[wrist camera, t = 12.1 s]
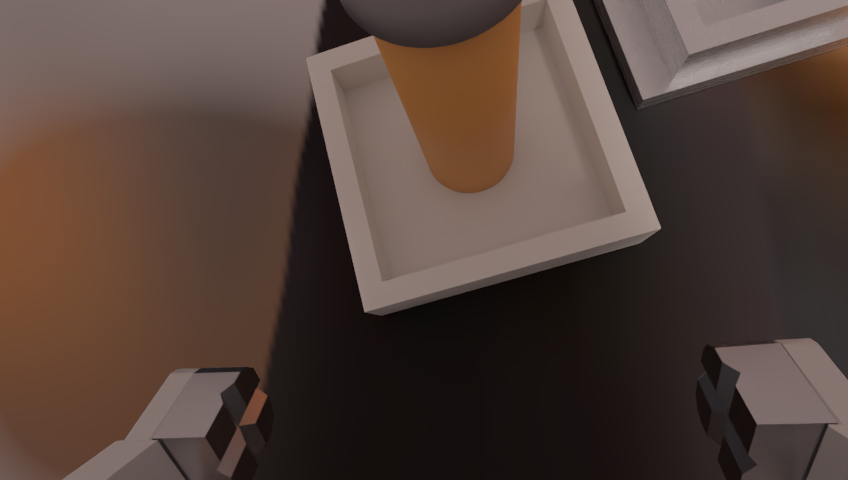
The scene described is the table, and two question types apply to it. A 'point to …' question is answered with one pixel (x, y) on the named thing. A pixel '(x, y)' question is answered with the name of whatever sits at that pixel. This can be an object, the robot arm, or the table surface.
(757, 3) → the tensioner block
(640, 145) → the table surface
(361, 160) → the tray
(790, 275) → the table surface
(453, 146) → the lock pin
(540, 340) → the table surface
